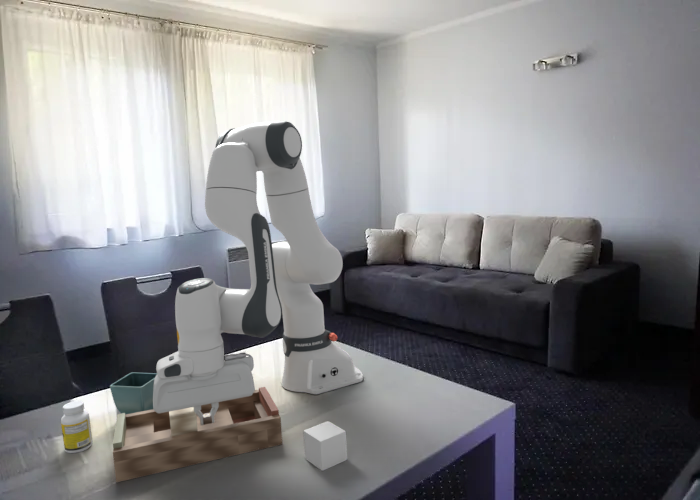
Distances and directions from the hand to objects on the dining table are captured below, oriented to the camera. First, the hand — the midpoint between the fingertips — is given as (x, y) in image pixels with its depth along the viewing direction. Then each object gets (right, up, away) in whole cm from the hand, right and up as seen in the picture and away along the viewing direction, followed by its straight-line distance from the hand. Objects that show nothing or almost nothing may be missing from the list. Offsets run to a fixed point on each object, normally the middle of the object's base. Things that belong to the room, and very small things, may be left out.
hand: (207, 423), depth 106 cm
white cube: (+25, -6, -5) cm, 26 cm away
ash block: (-4, -2, -1) cm, 5 cm away
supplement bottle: (-29, -7, +4) cm, 30 cm away
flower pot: (-22, -5, +20) cm, 30 cm away
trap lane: (-3, -6, +4) cm, 7 cm away
